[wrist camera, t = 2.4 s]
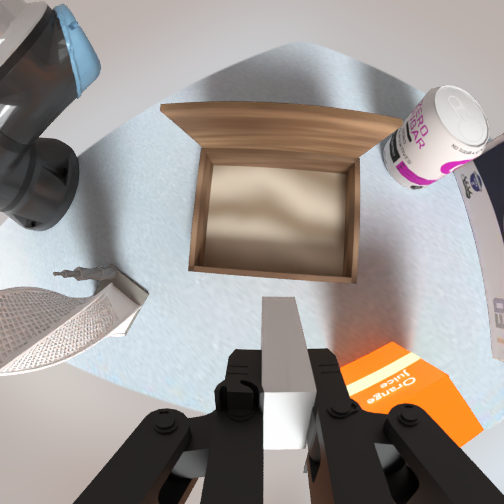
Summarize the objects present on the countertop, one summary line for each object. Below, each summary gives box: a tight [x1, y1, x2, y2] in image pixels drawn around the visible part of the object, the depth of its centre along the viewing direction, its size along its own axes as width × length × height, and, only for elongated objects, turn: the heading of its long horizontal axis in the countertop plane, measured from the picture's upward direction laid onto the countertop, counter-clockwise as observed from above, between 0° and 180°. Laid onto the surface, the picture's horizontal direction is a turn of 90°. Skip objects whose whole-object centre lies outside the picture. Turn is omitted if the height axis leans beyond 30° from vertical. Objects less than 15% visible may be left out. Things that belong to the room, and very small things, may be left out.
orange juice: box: [340, 342, 484, 447], centre depth 25 cm, size 8×9×20 cm
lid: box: [160, 101, 403, 158], centre depth 25 cm, size 1×17×13 cm, turn 86°
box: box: [188, 148, 360, 284], centre depth 34 cm, size 14×18×5 cm
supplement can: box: [383, 85, 490, 190], centre depth 28 cm, size 8×8×15 cm
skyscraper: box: [0, 264, 149, 376], centre depth 24 cm, size 8×8×28 cm
